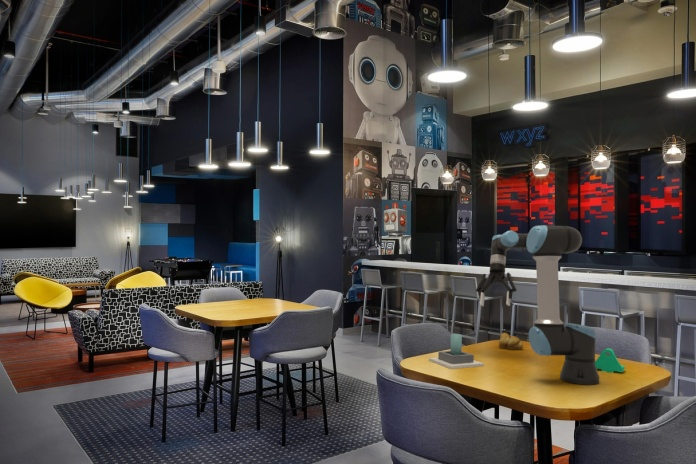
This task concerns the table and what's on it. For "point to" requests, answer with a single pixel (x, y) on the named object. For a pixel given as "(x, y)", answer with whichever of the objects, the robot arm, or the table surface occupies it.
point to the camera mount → (609, 362)
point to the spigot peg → (456, 344)
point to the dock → (454, 366)
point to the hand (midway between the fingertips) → (494, 305)
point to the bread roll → (510, 342)
